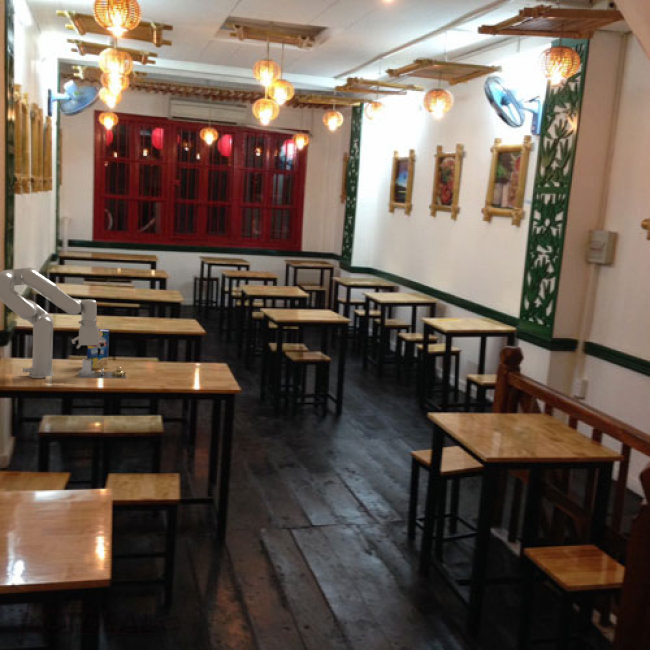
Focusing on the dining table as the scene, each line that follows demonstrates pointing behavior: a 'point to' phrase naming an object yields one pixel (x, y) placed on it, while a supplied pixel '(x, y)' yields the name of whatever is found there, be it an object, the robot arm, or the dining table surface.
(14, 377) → the dining table surface
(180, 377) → the dining table surface
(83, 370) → the square hollow tube
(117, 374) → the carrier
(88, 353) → the beverage box
